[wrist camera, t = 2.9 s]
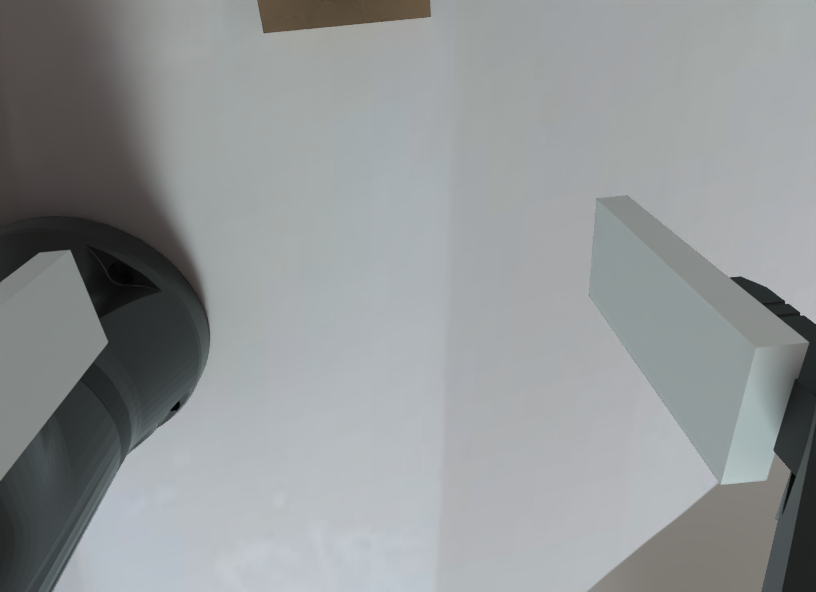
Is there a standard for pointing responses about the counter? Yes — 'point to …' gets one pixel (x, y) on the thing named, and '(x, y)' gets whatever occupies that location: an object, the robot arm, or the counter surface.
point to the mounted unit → (336, 12)
